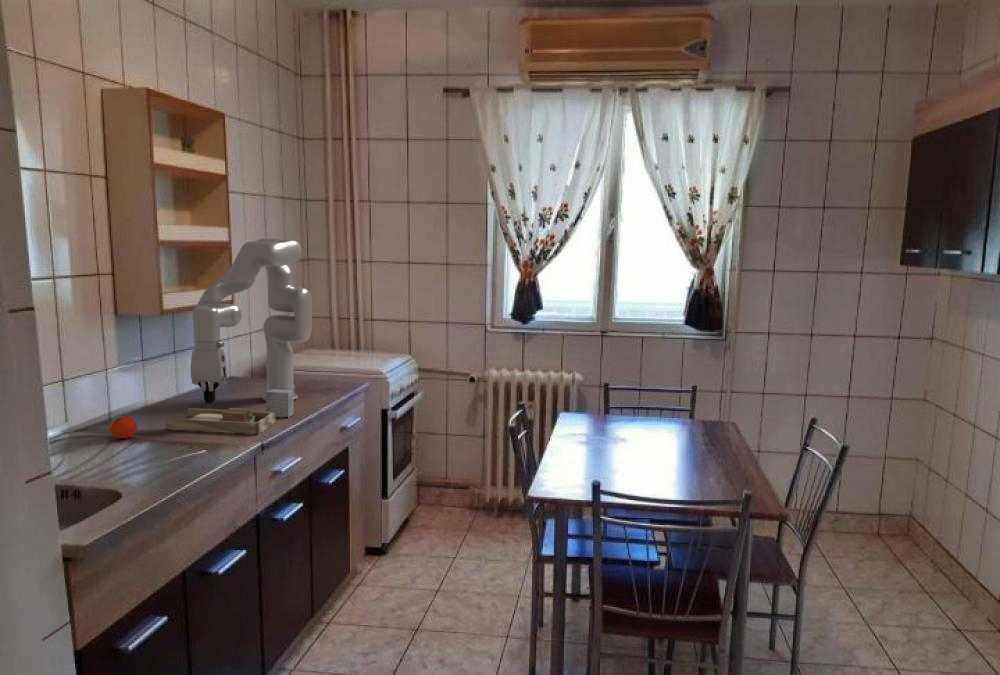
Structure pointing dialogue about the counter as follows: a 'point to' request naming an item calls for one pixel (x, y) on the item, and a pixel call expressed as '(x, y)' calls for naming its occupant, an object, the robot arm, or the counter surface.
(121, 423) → the clementine
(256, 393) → the counter surface
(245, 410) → the walnut block
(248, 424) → the tray
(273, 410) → the medicine box
